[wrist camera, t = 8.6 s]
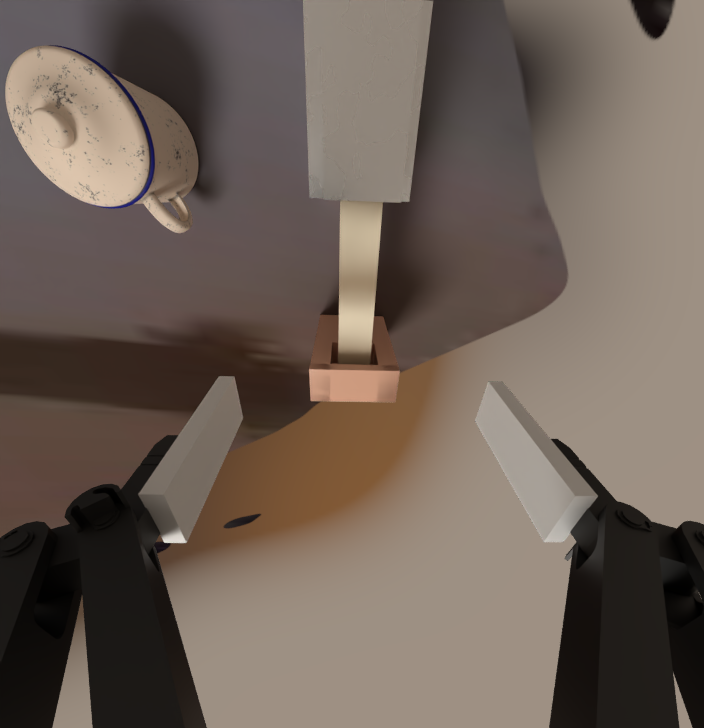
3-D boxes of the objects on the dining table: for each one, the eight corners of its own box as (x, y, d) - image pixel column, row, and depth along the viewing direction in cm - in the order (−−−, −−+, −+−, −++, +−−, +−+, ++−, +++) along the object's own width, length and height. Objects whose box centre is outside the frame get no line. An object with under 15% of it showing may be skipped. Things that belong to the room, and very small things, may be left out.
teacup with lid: (80, 127, 27) (-79, 87, 17) (149, 61, 25) (15, -28, 15) (177, 247, 32) (102, 271, 22) (241, 202, 30) (189, 206, 20)
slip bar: (341, 134, 21) (340, 126, 18) (383, 137, 21) (389, 128, 18) (338, 362, 30) (337, 378, 28) (367, 362, 31) (369, 378, 28)
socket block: (320, 314, 37) (309, 369, 25) (383, 316, 37) (399, 371, 26) (320, 339, 38) (310, 400, 27) (380, 341, 39) (395, 402, 27)
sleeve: (315, 49, 24) (290, -64, 14) (408, 55, 25) (457, -52, 14) (318, 196, 30) (302, 198, 19) (394, 199, 30) (421, 203, 19)
